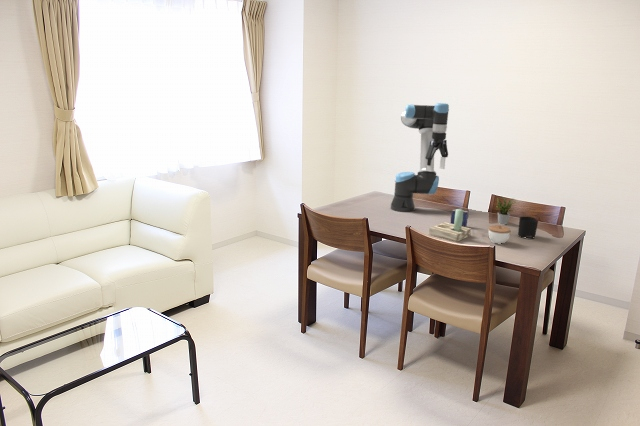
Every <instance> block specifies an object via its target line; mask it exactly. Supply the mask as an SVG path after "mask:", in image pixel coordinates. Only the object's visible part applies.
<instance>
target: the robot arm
mask: <svg viewBox="0 0 640 426" xmlns="http://www.w3.org/2000/svg"><path fill="white" fill-rule="evenodd" d="M449 108H450V106H449V103H446V102H445V103H444V102H436V103H435V104H434V105H421V104H420V105H419V104H407V105H405V110H404V112H402V114H401V116H400V120H401V123H402V124H403V125H404V126H406V127H408V128H410V129H418V132H419V134H420V154H419V155H420V157H419V159H420V160H419V161H420V162H419V171H417V174H415V172H414V171H403V172H399V173H396V176H395V179H394V182H395V183H394V195H393V198H392V201H391V203H390V209H391V210H393V211H397V212H405V213H406V212H414V211H415V210H416V209H415V207H416V206H415V202H414V198H413V197H414V194H417V195H418V194H421V195H422V194H423V195H434V194H436V192H437V190H438V188H439V181H440V176H439V175H437V172H436V171H435V154H436V152H437V151H439V153H440V155H441V156H440V161H439V169H443V170H445V169H446V168H445V166H446V158H448V157H449V152H448V145H447V133H446V132H447V129H448V120H449V119H448V118H449V111H450V109H449Z"/></svg>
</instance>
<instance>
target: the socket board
mask: <svg viewBox="0 0 640 426" xmlns="http://www.w3.org/2000/svg"><path fill="white" fill-rule="evenodd" d="M450 223H451V222H450ZM450 223H449V222H446V221H444V222H442V223H438V224H437V225H434V226H431V227H429V234H428V235H429V236H431V237H432V236H433V237H437V238H439V239H442V238H443V240H447V241H449V242H454V243H457V242H460V241H461V240H464V239H467V238H469V237H471V236H472V235H471V234H472V228H469V227H462V228H461V232H457V231H453V230H454V224H450Z"/></svg>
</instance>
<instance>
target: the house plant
mask: <svg viewBox="0 0 640 426" xmlns="http://www.w3.org/2000/svg"><path fill="white" fill-rule="evenodd" d="M502 198H503V199H502V200H503V203H502V201H501V200H500V199H499V198H497V197H496V199H497V200H496V202H497V205H496V206H495V208H497V210H498V212H497V224H498V223H500V224H499V225H501V224H507V225H508V224H509V220H510V217H511V213H509V212H514V211H515V210H516V209H515V208H513V209H512V208H511V207H513V204H515V203H517V202H518V203H519V202H521V201H519V200H517V201H513V200H514V199H515V197H513V198H511V199H509V201H508V202H507V199H506V197H503V196H502Z"/></svg>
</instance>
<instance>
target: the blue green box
mask: <svg viewBox="0 0 640 426" xmlns="http://www.w3.org/2000/svg"><path fill="white" fill-rule="evenodd" d="M458 209H461V210H463V209H462V207H459V208H458ZM455 212H456V209H452V210H451V214H450V224H454V221H455ZM468 217H469V211H468V210H464V211H463V220H462V227H466V228H468Z"/></svg>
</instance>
